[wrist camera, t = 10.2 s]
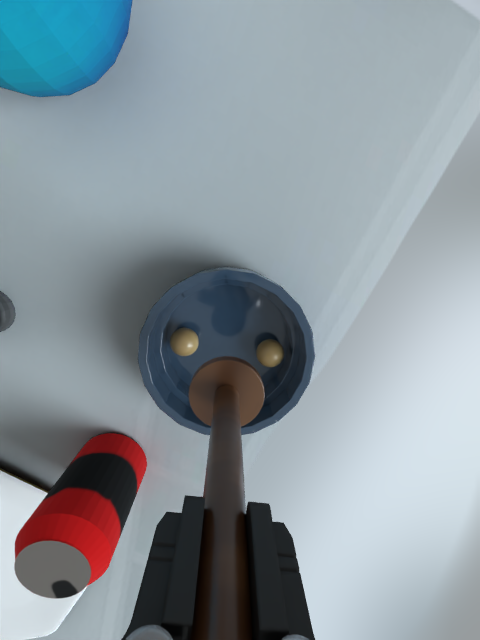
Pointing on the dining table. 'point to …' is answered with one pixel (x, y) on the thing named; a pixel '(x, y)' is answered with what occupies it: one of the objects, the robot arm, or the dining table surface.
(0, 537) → the plate
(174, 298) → the bowl
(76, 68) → the decorative orb
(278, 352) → the bead
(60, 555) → the soda can
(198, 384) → the stirrer
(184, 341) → the bead
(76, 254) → the dining table surface
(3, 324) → the beverage cup
